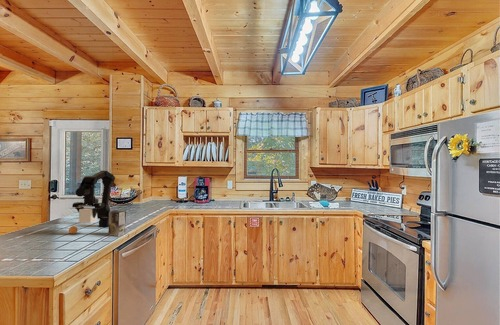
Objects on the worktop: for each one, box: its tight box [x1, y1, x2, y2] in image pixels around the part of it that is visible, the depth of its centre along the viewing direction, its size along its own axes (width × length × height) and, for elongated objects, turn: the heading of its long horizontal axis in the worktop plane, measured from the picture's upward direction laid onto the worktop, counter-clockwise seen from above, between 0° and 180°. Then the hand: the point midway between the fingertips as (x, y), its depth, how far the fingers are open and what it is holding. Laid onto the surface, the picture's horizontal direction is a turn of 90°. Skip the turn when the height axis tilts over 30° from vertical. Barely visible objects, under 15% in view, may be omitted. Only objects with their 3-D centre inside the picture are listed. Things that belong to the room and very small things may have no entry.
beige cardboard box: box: [78, 207, 98, 224], centre depth 178 cm, size 8×8×9 cm
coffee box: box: [107, 209, 127, 237], centre depth 180 cm, size 9×6×16 cm
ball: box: [68, 225, 78, 235], centre depth 179 cm, size 5×5×5 cm
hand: (88, 217), depth 179 cm, fingers closed on beige cardboard box, 8 cm apart
